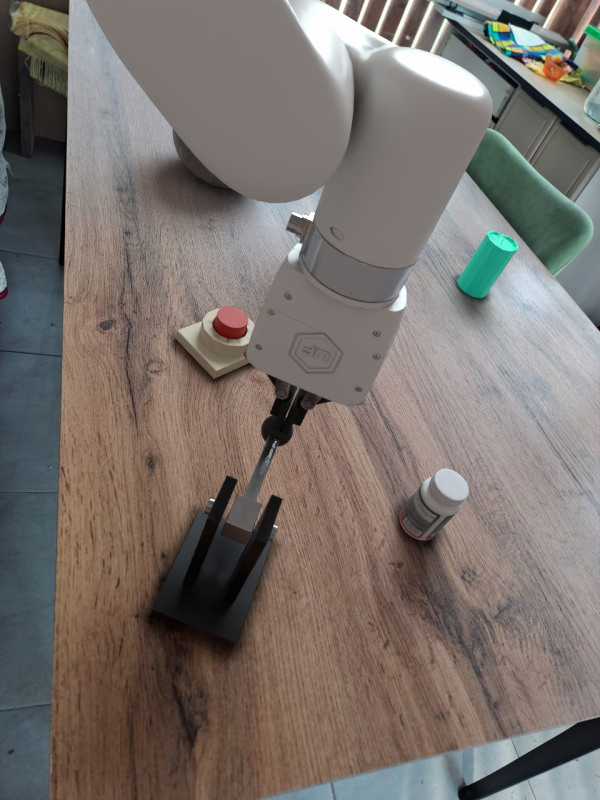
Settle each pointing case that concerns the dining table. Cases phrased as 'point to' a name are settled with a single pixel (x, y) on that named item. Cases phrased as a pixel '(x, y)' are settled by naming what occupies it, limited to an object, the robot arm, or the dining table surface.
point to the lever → (254, 486)
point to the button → (230, 322)
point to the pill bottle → (433, 504)
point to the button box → (214, 346)
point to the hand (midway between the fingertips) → (283, 421)
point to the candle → (487, 264)
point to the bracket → (216, 572)
